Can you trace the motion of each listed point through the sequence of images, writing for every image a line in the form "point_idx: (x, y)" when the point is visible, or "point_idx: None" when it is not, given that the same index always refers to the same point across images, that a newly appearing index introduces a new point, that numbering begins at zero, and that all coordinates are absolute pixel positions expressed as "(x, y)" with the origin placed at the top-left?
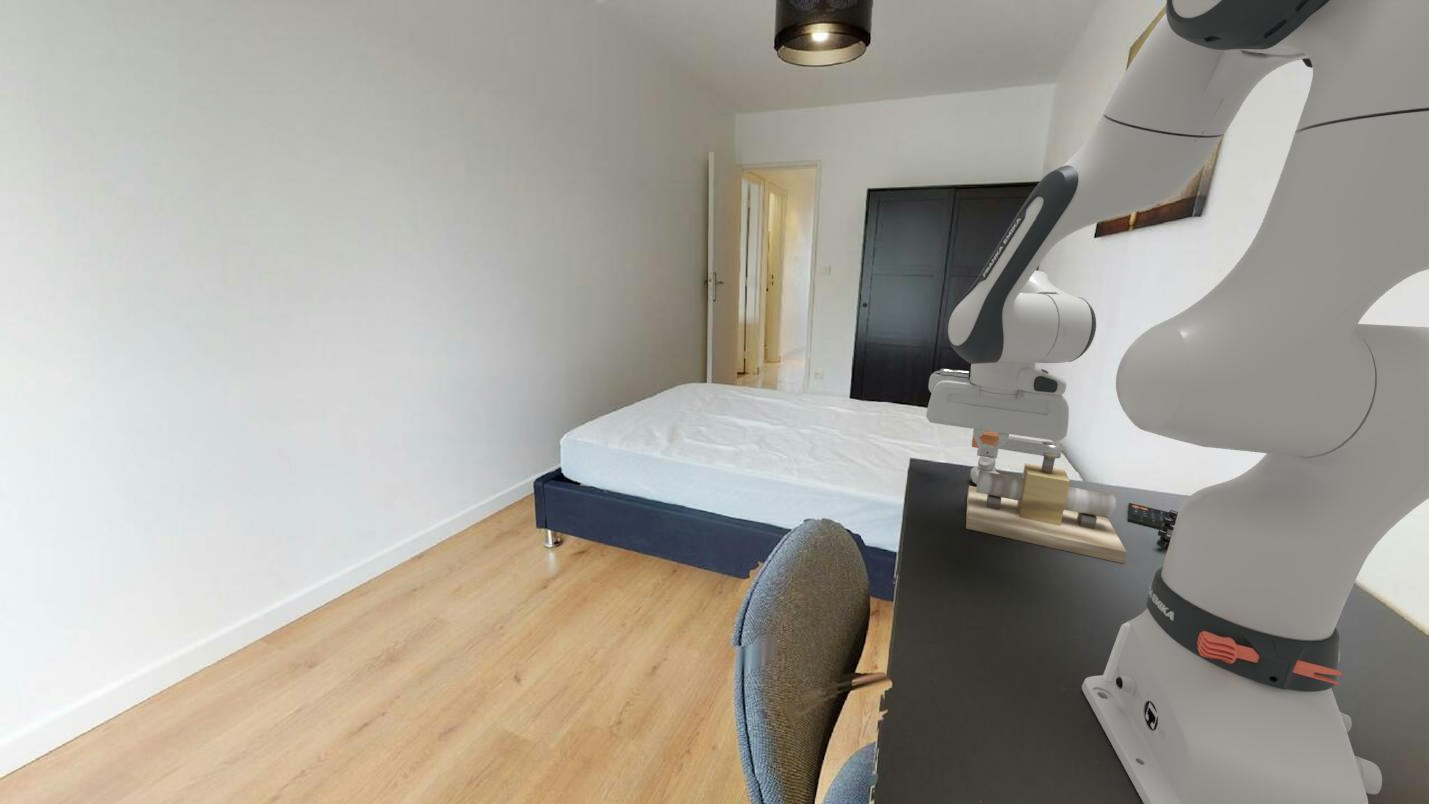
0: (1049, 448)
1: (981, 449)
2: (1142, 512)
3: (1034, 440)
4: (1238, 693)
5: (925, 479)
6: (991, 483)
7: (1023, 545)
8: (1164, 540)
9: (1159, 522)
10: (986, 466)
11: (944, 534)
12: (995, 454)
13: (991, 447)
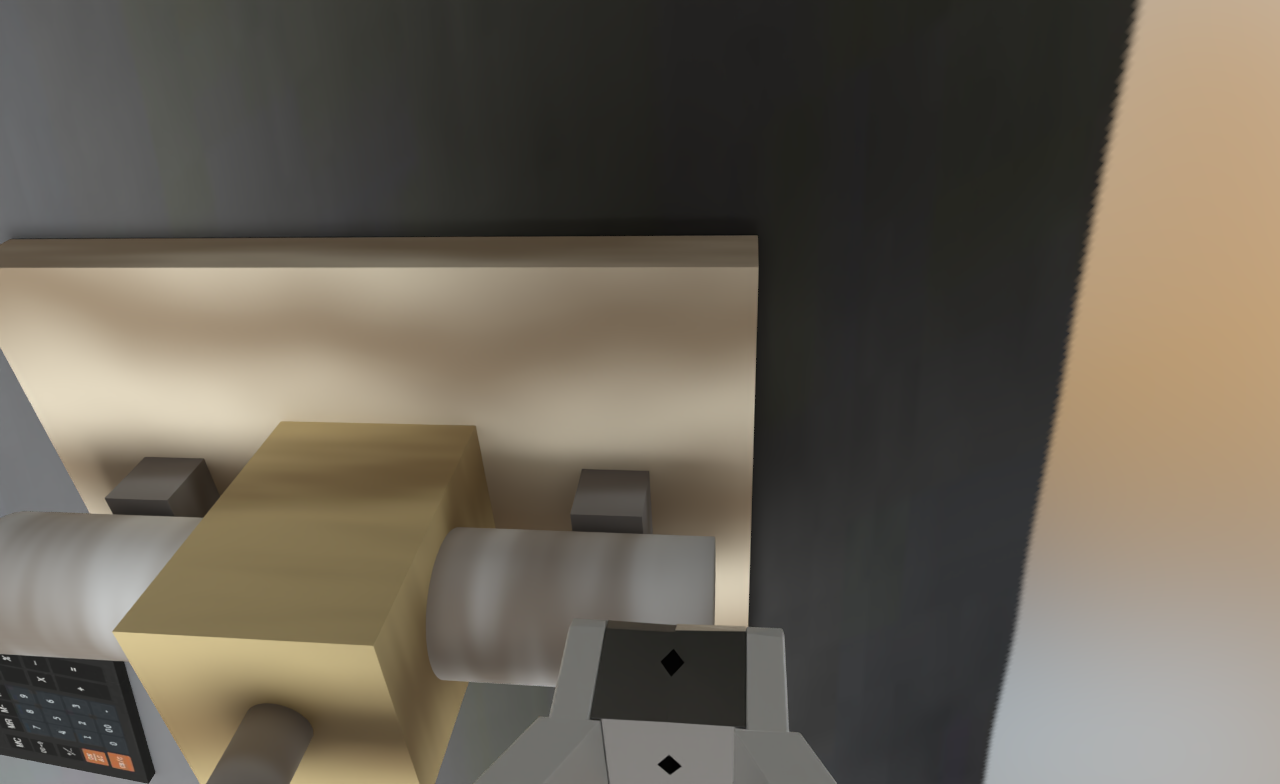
0: None
1: (747, 688)
2: (90, 727)
3: None
4: None
5: (956, 727)
6: (628, 580)
7: (439, 183)
8: None
9: (21, 673)
10: None
11: (899, 65)
12: (584, 649)
13: (631, 735)
